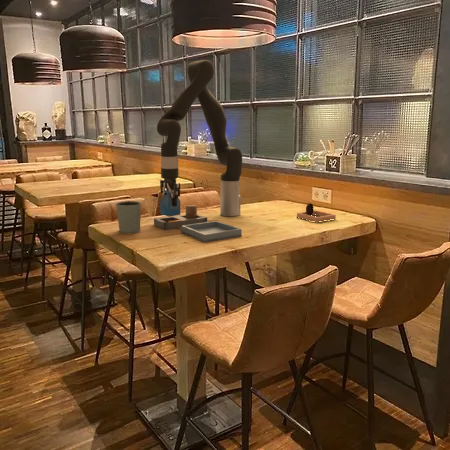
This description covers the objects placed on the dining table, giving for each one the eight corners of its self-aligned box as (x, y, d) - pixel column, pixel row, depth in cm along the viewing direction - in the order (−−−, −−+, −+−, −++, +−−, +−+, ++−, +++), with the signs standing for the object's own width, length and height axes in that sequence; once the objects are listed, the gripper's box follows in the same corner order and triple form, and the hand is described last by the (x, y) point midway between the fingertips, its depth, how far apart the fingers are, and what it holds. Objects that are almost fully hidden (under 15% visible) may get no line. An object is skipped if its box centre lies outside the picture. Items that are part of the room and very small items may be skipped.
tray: (216, 227, 203) (216, 220, 203) (241, 236, 189) (241, 228, 189) (181, 232, 193) (181, 225, 193) (204, 242, 179) (204, 234, 178)
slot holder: (194, 219, 218) (194, 212, 217) (207, 223, 210) (207, 216, 209) (153, 225, 206) (153, 217, 205) (165, 229, 197) (165, 222, 197)
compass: (319, 220, 220) (319, 205, 219) (304, 218, 225) (305, 203, 224) (327, 218, 226) (328, 203, 225) (312, 215, 231) (313, 201, 230)
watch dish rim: (315, 215, 233) (315, 210, 232) (335, 219, 222) (335, 214, 222) (296, 218, 225) (297, 213, 225) (316, 223, 215) (316, 217, 214)
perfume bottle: (171, 212, 208) (171, 185, 205) (180, 214, 203) (180, 187, 201) (160, 214, 204) (160, 187, 201) (169, 216, 199) (168, 189, 196)
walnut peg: (193, 221, 214) (193, 204, 212) (198, 223, 210) (198, 206, 209) (183, 222, 211) (183, 205, 210) (189, 224, 207) (189, 207, 206)
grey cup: (141, 233, 191) (140, 205, 188) (116, 234, 189) (115, 205, 186) (141, 228, 200) (140, 200, 198) (117, 228, 199) (116, 201, 196)
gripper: (185, 168, 195) (186, 206, 199) (169, 164, 206) (169, 201, 210) (170, 169, 191) (170, 208, 195) (154, 165, 202) (155, 203, 206)
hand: (170, 204), depth 203 cm, fingers closed on perfume bottle, 6 cm apart
